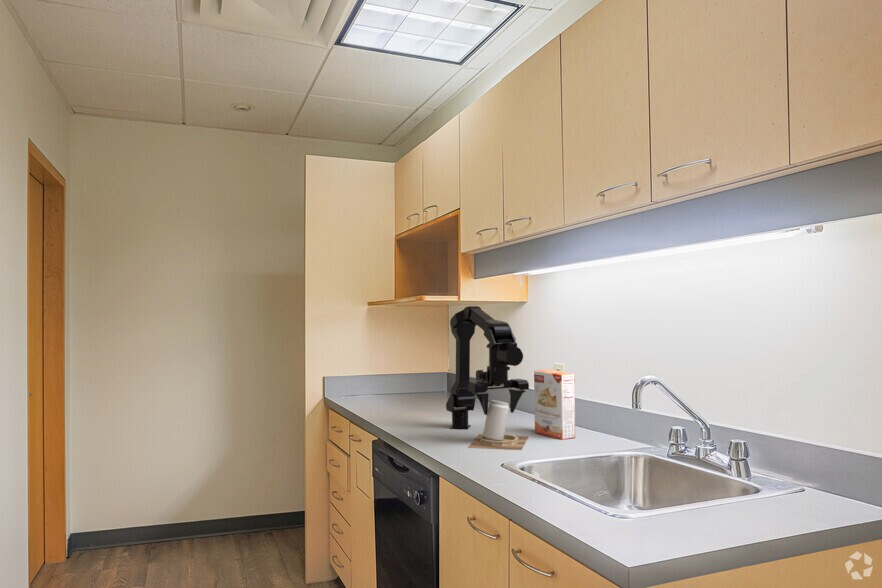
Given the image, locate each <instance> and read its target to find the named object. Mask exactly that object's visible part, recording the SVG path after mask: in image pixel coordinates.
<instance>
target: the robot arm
mask: <svg viewBox="0 0 882 588" xmlns="http://www.w3.org/2000/svg"><path fill="white" fill-rule="evenodd" d="M449 325H450V331H451V334H452V335H453V337H454V339H455V381H454V383H453V384H452V386H451V388H450V395H449V396H448V399H447V401H446V403H445V410H446V411H447V412H450V413H451V426H450V427H449V429H450V430H469V429H470V428H471V427H472V426H471V424H469V411H474V410H475V405H476V397H477V399H478V401H479V403H480V405H481V409H482V412H483V414H484V416H487V412H488V406H489V393H488V392H487V391H488V390H498V389H499V390H500V389H508V393H509V400H510V401H509V412H510V413H514V412H515V410H516V407H517V405H518V403H519V401H520V399H521V398H522V397H521V396H523V394H524V393H526V390H529V389H530V383H529V381H528V380H526V379H522V378H512V379H509V371H511V370H510V369H511V367H510V366H513V367H518V366H519V365H520V364H521V363H522V362H523V359H524V353H523V351H522V349H521V348H520V347H518V343H517V341H516V337H515V335H514V332H513V330H512V328H511V326H510V325H509V323H508V322H505V321H502V320H497V319H494V318H493V317H491V316H490V315H489V314H488V313H486V312H485V311H484V310H483V309H482V307H480V306H477V305H473V306H472V305H471V306H470V305H469V306H465V307H464V308H463V309H462V310H460V311H458V312H456V313H455V314H453V316H452V317H451V318H450V321H449ZM477 326H478V327H479V328H480V329H481V330H483V337H484V338H486V340H487V341H488V343H487V345H486V348H487V349H488V358H489V359H488V360H489V361H488V362H489V363H488V364H489V365H487V366H486V371H484V370H483V369H478V370H476V371H475V380H476V381H470V379H471V377H470V376H471V374H470V372H471V370H470V369H471V367H470V363H471V362H470V361H471V339H472V338H473V336H474V334H475V333H476V327H477Z"/></svg>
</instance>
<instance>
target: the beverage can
mask: <svg viewBox="0 0 882 588" xmlns="http://www.w3.org/2000/svg"><path fill="white" fill-rule="evenodd" d="M509 412H510V402H506V401H502V400H497V399H490V402H488V412H487V415H486V417H485V421H484V429H483V433H482V434H483V436H484V437H485V439H487V440H490V441H502V440H503V438H504V434H506V433H505V432H506V427H507V422H508V417H509Z"/></svg>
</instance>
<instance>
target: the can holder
mask: <svg viewBox="0 0 882 588" xmlns="http://www.w3.org/2000/svg"><path fill="white" fill-rule="evenodd" d="M528 439H529V435H513V434H508V433H504V438H503V440H502V441H490V440H487V439H485V437H484V436H483V433H482V434H480V433H479V434H478V435H477V436H476V437H475V438H474V439H473V441H472V442H471V443H470V444H469V445H468V447H467V449H485V450H486V449H487V450H504V451H505V450H506V451H507V450H508V451H509V450H510V451H522V450H523V448H524V447H525V445H526V442H527V441H528Z"/></svg>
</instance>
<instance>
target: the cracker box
mask: <svg viewBox="0 0 882 588" xmlns="http://www.w3.org/2000/svg"><path fill="white" fill-rule="evenodd" d="M533 380H534V381H533V387H534V388H533V389H534V390H533V391H534V393H533V394H534V432H535V433H536V434H540V435H544V436H547V437H552V438H554V439H558V440H561V441H563V440H570V439H575V438H576V396H575V395H576V394H575V393H576V392H575V390H576V388H575V387H576V386H575V385H576V384H575V381H576V380H575V373H573V372H565V371H559V370H553V369H536V370H534V371H533Z"/></svg>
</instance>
